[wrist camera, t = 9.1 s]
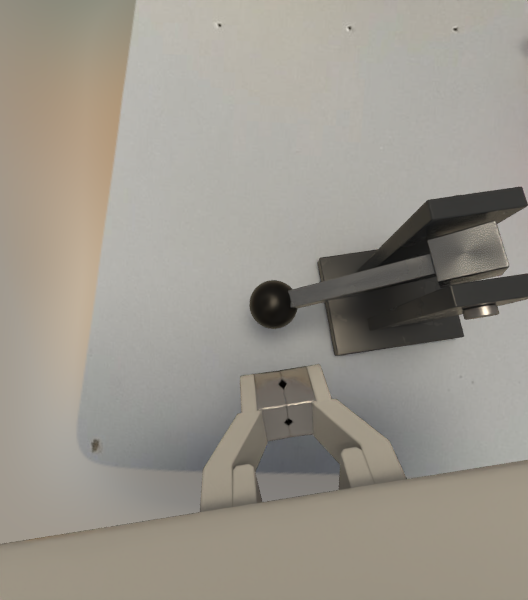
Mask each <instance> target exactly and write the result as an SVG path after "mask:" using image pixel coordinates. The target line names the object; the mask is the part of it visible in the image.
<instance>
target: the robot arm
mask: <svg viewBox="0 0 528 600" xmlns="http://www.w3.org/2000/svg"><path fill="white" fill-rule="evenodd" d="M240 391H241V413H240V414H237V416H236V417H235V419H234V420H233V422H232V424H231V425H230V427H229V428H228V430H227V432H226V433H225V435H224V436H223V438H222V440H221V441H220V443H219V444H218V446H217V448H216V449H215V451H214V452H213V454H212V456H211V457H210V459H209V460H208V462H207V464H206V465H205V467H204V469H203V474H202V490H201V504H200V512H198V513H192V514H187V515H180V516H173V517H167V518H161V519H154V520H148V521H142V522H136V523H129V524H124V525H117V526H111V527H104V528H98V529H92V530H86V531H79V532H73V533H67V534H61V535H54V536H48V537H42V538H35V539H29V540H23V541H16V542H10V543H4V544H0V600H528V460H524V461H517V462H511V463H505V464H499V465H492V466H486V467H480V468H474V469H467V470H461V471H455V472H449V473H442V474H436V475H430V476H424V477H417V478H411V479H407V478H406V476H405V474H404V471H403V469H402V467H401V465H400V463H399V461H398V458H397V456H396V454H395V452H394V450H393V448H392V445H391V443H390V441H389V440H388V439H386V438H385V437H384V436H383V435H381V434H380V433H379V432H378V431H376V430H375V429H374V428H372V427H371V426H370V425H369V424H367V423H366V422H365V421H364V420H362V419H361V418H360V417H359V416H357V415H356V414H355V413H353V412H352V411H351V410H350V409H348V408H347V407H346V406H345V405H343V404H342V403H341V402H340V401H338V400H337V399H332V398H331V395H330V392H329V389H328V386H327V383H326V380H325V377H324V374H323V371H322V368H321V366H320V365H319V364H317V365H310V366H303V367H297V368H291V369H285V370H280V371H273V372H265V373H258V374H251V375H244V376H240ZM312 434H313V435H314V437H315V438H316V439H317V440H318V441H319V442H320V443H321V444H322V445H323V446H324V448H325V449H326V450H327V451H328V452H329V453H330V454H331V455H332V456H333V457H334V459H335V460H336V461H337V462H338V463H339V464H340V477H339V490H336V491H329V492H324V493H317V494H311V495H305V496H298V497H292V498H286V499H279V500H273V501H267V502H262V498H261V494H260V490H259V486H258V482H257V478H256V473H255V471H256V469H257V467H258V464H259V462H260V460H261V457H262V455H263V453H264V450H265V448H266V446H267V443H268V442H267V441H273V440H278V439H284V438H289V437H296V436H304V435H312Z"/></svg>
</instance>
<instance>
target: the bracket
mask: <svg viewBox="0 0 528 600" xmlns="http://www.w3.org/2000/svg"><path fill="white" fill-rule="evenodd" d="M527 206H528V204H527V201H526V198H525V195H524V191H523V188H522V187H515V188H508V189H501V190H494V191H487V192H480V193H473V194H466V195H456V196H452V197H445V198H438V199H431V200H427V201H426V202H425V203H424V204H423V205H422V206H421V207H420V208H419V209H418V210H417V211H416V212H415V213H414V214H413V215H412V216H411V217H410V218H409V219H408V220H407V221H406V222H405V223H404V224H403V225H402V226H401V227H400V228H399V229H398V230H397V231H396V232H395V233H394V234H393V235H392V236H391V237H390V238H389V239H388V240H387V241H386V242H385V243H384V244H383V245H382V246H381V247H380V248H379V249H378V250H371V251H364V252H357V253H350V254H343V255H337V256H330V257H323V258H320V259H319V261H318V268H319V273H320V278H321V282H323V281H327V280H331V279H335V278H338V277H342V276H346V275H350V274H354V273H357V272H361V271H365V270H369V269H373V268H376V267H380V266H384V265H388V264H392V263H395V262H399V261H403V260H407V259H410V258H414V257H418V256H422V255H426V254H430V250H429V246H428V242H427V240H428V239H431V238H435V237H438V236H442V235H445V234H449V233H452V232H456V231H459V230H463V229H466V228H470V227H473V226H477V225H480V224H484V223H487V222H491V221H496V223H497V224H498V223H500V222H501V221H503V220H505V219H506V218H508V217H510V216H511V215H513V214H515V213H516V212H518V211H520V210H522V209H523V208H525V207H527ZM526 299H528V274H521V275H514V276H507V277H500V278H494V279H487V280H480V281H473V282H466V283H460V284H453V285H449V286H446V287H444V288H440V287H439V284H438V281H437V277H433V278H429V279H424V280H420V281H416V282H411V283H407V284H402V285H398V286H394V287H389V288H385V289H381V290H376V291H372V292H367V293H363V294H359V295H354V296H350V297H346V298H341V299H337V300H332V301H328V302H325V305H326V311H327V316H328V322H329V327H330V332H331V338H332V343H333V349H334V354H335V356H339V355H346V354H352V353H359V352H366V351H372V350H379V349H386V348H393V347H399V346H406V345H413V344H419V343H426V342H433V341H439V340H446V339H453V338H460V337H464V334H463V330H462V326H461V323H460V319H459V315H461V314H463V316H464V319H465V320H468V319H475V318H481V317H487V316H493V315H498V314H499V311H498V307H497V306H500V305H505V304H509V303H513V302H518V301H522V300H526Z"/></svg>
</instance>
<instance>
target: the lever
mask: <svg viewBox="0 0 528 600" xmlns="http://www.w3.org/2000/svg"><path fill="white" fill-rule="evenodd" d="M427 242H428V246H429V250H430V254H426V255H422V256H418V257H414V258H410V259H407V260H403V261H399V262H395V263H392V264H388V265H384V266H380V267H376V268H373V269H369V270H365V271H361V272H357V273H354V274H350V275H346V276H342V277H338V278H335V279H331V280H327V281H323V282H319V283H316V284H312V285H308V286H304V287H300V288H297V289H292V288H291V287H290V286H288V285H287V284H285V283H283V282H281V281H276V280H271V281H266V282H264V283H262V284H260V285H259V286H258V287H257V288H256V289H255V290H254V291H253V293H252V295H251V298H250V311H251V314H252V316H253V318H254V319H255V320H256V321H257V322H258V323H259V324H260V325H262V326H264V327H266V328H271V329H276V328H281V327H283V326H286V325H287V324H288V323H290V322H291V321H292V320H293V318H294V317H295V315H296V312H297V308H302V307H306V306H311V305H315V304H319V303H324V302H328V301H332V300H337V299H341V298H346V297H350V296H354V295H359V294H363V293H367V292H372V291H376V290H381V289H385V288H389V287H394V286H398V285H402V284H407V283H411V282H416V281H420V280H424V279H429V278H433V277H437V281H438V284H439V287H440V288H444V287H446V286H449V285H453V284H460V283H466V282H472V281H477V280H481V279H486V278H491V277H496V276H500V275H503V273H504V272H505V271H506V270H507V269H508V267H509V263H508V260H507V256H506V253H505V250H504V246H503V243H502V240H501V236H500V233H499V230H498V226H497V223H496V221H491V222H487V223H484V224H480V225H477V226H473V227H470V228H466V229H463V230H459V231H456V232H452V233H449V234H445V235H442V236H438V237H435V238H431V239H428V240H427Z"/></svg>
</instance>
